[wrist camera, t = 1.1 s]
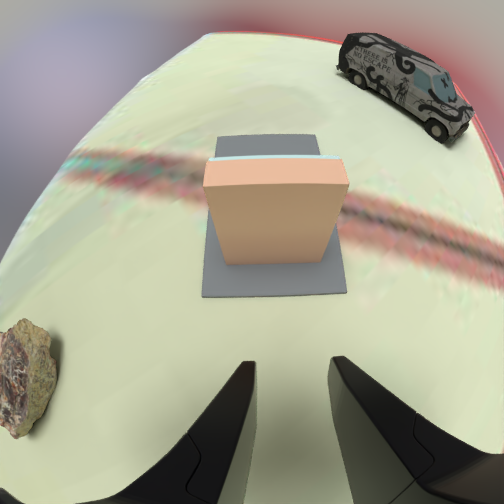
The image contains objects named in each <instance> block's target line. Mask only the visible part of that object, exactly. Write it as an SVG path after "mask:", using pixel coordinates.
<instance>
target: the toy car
mask: <svg viewBox="0 0 504 504" xmlns="http://www.w3.org/2000/svg"><path fill="white" fill-rule="evenodd" d="M336 67H337V70H339V68H340V70H341V71H342V72H344V73H350V74H349V81H350V82H351V83H352V84H354V85H356V86H357V87H359V88H361V89H363V90H366V89H367V88H368V86H369V87H371V88H373V89H374V90H376V91H378V92H379V93H381V94H383V95H385V96H386V97H388V98H389V99H391V100H393V101H394V102H396V103H397V104H399V105H401V106H402V107H404V108H405V109H407V110H408V111H410V112H411V113H413V114H414V115H415V116H417V117H418V118H420V119H421V120H423V121H424V122H425V121H427V120H428V121H427V123H426V126H425V130H426V132H427V133H428V134H429V135H430V136H431V137H432V138H433V139H435V140H436V141H438V142H439V143H444V142H445V141H446V140H447V138H448V133H449V136H450V137H449V139H448V140H449V141H450V142H454V141H455V140H456V139H457V138H458V137H459V136H460V135H462V133H463V132H464V131H466V130H467V128H468V126H469V123H468V122H469V121H470V120H471V118H472V117H473V115H474V114H475V112H474V110H473V108H472V106H470V105H469V104H468V103H467V102H465V101H464V100H463V99H462V98H461V97H459V96H458V95H457V93H456V91H455V88H454V85H453V82H452V80H451V77H450V75H449V72H448V71H447V70H445V69H444V68H442V67H441V66H439V65H437V64H436V63H435V62H434V61H432V60H431V59H429V58H427V57H426V56H424V55H422V54H420V53H419V52H416V51H415V50H413V49H411V48H409V47H407V46H404V45H403V44H400V43H398V42H396V41H394V40H391V39H389V38H387V37H384V36H382V35H379V34H377V33H353V34H348V35H347V37H346V39H345V40H344V42H343V44H342V47H341V49H340V51H339V64H338V65H336Z"/></svg>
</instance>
